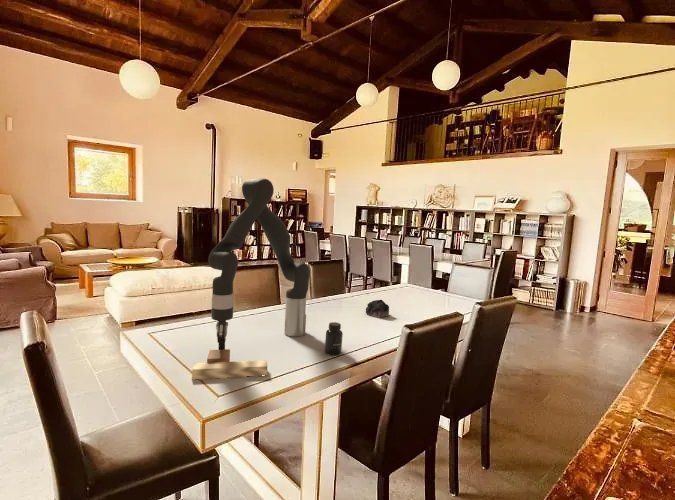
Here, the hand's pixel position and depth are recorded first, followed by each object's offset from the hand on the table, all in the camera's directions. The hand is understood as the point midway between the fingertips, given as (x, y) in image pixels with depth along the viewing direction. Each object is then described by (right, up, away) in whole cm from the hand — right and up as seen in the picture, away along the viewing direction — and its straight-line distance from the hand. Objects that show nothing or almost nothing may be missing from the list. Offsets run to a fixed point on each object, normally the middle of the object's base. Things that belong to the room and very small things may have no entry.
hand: (221, 351), depth 134 cm
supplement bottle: (+41, -5, +14) cm, 43 cm away
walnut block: (+1, -4, -5) cm, 7 cm away
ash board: (+6, -5, -10) cm, 13 cm away
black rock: (+65, 0, +74) cm, 99 cm away
